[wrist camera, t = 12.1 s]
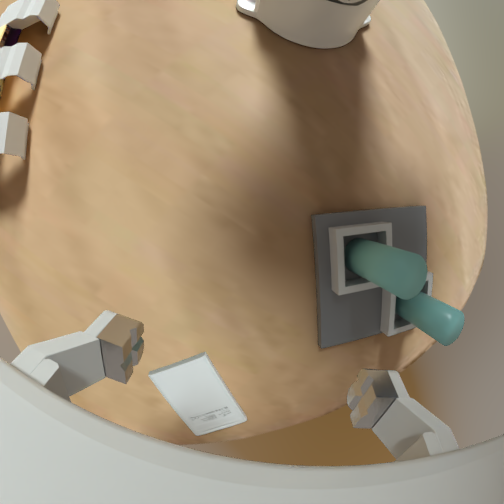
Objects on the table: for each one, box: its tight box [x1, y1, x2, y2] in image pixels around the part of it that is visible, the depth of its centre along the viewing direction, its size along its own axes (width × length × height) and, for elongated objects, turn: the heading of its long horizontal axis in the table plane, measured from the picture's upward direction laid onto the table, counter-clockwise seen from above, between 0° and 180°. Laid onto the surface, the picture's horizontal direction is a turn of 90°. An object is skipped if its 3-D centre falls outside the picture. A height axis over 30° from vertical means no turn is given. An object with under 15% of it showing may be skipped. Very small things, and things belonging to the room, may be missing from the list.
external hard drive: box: [148, 352, 247, 436], centre depth 32 cm, size 2×8×12 cm
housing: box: [311, 206, 464, 349], centre depth 27 cm, size 16×16×11 cm
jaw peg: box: [344, 238, 427, 300], centre depth 25 cm, size 4×4×10 cm
